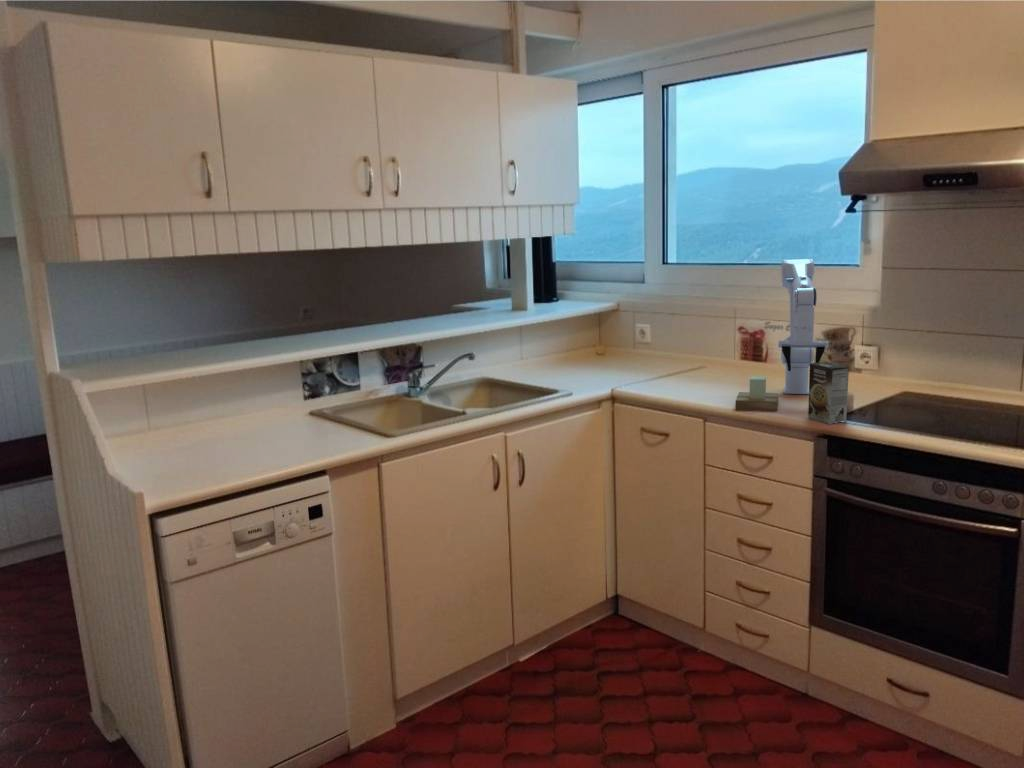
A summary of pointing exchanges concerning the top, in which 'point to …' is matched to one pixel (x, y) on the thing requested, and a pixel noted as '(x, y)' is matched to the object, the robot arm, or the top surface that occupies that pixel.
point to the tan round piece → (850, 402)
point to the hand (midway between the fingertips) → (802, 370)
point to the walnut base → (757, 402)
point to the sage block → (757, 387)
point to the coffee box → (828, 392)
